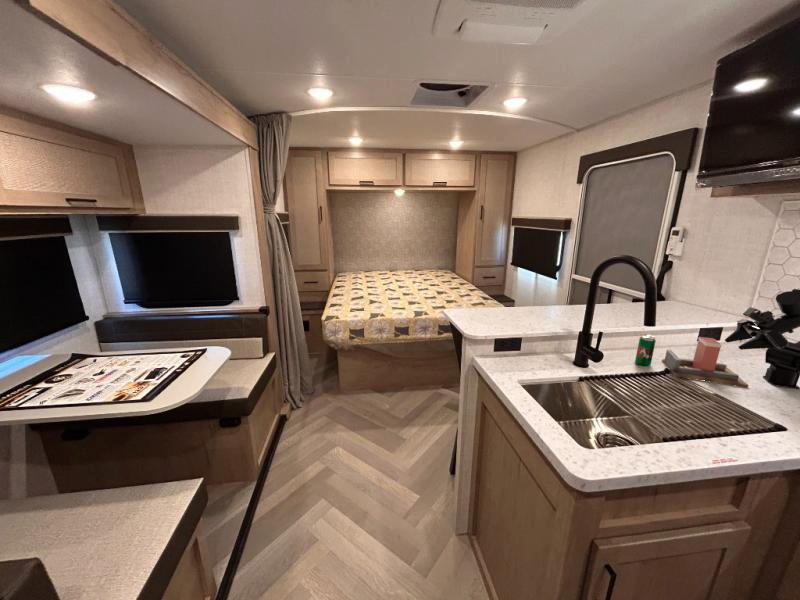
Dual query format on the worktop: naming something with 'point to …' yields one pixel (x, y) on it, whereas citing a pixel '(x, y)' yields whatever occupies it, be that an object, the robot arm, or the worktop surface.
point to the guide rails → (675, 367)
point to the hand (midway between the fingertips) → (732, 344)
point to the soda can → (645, 350)
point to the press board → (723, 381)
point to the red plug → (706, 354)
